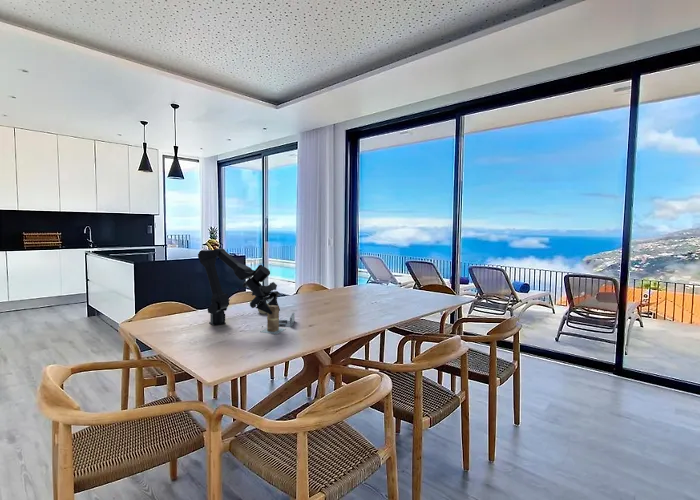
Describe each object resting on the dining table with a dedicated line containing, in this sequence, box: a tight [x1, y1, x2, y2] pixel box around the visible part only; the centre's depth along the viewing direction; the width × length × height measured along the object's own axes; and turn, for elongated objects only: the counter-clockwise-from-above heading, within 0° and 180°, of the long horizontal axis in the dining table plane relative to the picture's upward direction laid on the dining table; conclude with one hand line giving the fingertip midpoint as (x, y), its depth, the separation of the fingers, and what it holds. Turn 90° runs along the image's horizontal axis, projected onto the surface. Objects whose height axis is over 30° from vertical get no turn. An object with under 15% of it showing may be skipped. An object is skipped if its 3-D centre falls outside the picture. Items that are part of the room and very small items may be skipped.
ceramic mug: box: [257, 300, 270, 315], centre depth 217 cm, size 11×8×8 cm
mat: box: [260, 327, 286, 335], centre depth 181 cm, size 9×9×1 cm
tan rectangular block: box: [266, 305, 280, 332], centre depth 180 cm, size 4×4×12 cm
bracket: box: [279, 312, 296, 328], centre depth 193 cm, size 8×12×5 cm
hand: (275, 312), depth 180 cm, fingers open, 7 cm apart
